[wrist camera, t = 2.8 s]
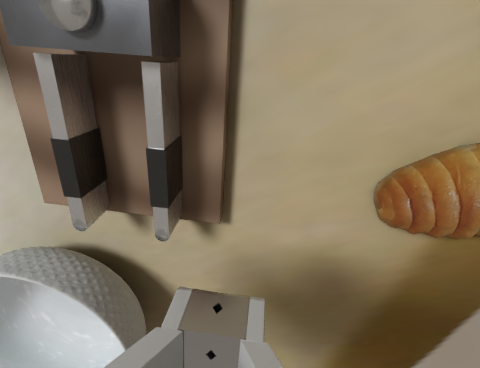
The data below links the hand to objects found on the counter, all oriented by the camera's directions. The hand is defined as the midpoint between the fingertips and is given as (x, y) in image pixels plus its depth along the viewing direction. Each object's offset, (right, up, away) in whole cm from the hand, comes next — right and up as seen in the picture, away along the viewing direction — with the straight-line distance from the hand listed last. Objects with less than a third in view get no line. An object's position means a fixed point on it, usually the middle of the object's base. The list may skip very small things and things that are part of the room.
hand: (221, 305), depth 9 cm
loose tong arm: (-4, +7, +10) cm, 13 cm away
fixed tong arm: (-10, +7, +10) cm, 16 cm away
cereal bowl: (-16, -7, +20) cm, 26 cm away
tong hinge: (-6, +14, +7) cm, 17 cm away
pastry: (+16, +4, +11) cm, 20 cm away
